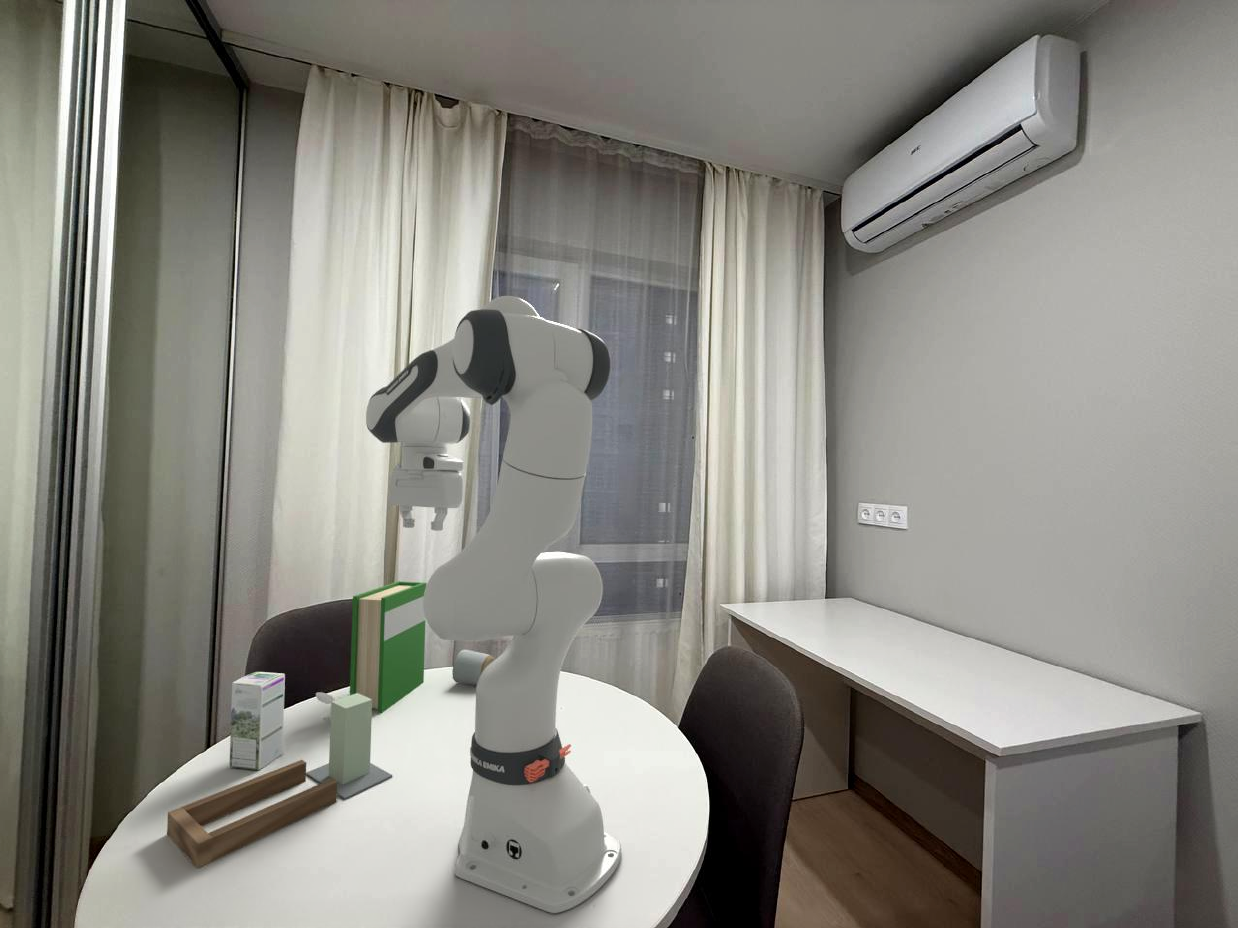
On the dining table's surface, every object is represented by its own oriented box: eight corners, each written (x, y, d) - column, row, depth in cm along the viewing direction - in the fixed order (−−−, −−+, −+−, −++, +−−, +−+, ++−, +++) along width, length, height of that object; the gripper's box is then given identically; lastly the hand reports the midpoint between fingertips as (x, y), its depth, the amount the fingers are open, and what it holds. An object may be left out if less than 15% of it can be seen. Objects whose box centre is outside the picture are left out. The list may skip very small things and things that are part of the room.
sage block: (369, 772, 90) (372, 699, 90) (343, 784, 86) (345, 708, 87) (355, 763, 93) (357, 692, 93) (328, 775, 89) (331, 701, 89)
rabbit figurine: (359, 716, 112) (327, 711, 106) (345, 730, 111) (312, 726, 105) (352, 693, 116) (320, 687, 109) (339, 707, 115) (306, 701, 109)
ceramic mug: (482, 691, 126) (483, 657, 127) (450, 687, 128) (452, 654, 129) (502, 676, 137) (503, 645, 137) (473, 672, 138) (474, 642, 139)
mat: (392, 776, 89) (392, 774, 89) (344, 799, 83) (344, 797, 83) (352, 754, 96) (352, 753, 96) (306, 774, 90) (306, 772, 90)
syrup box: (284, 754, 96) (287, 671, 96) (257, 771, 90) (261, 683, 91) (255, 751, 97) (258, 669, 97) (227, 768, 91) (230, 681, 91)
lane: (336, 801, 82) (337, 781, 82) (197, 868, 68) (198, 843, 68) (301, 777, 89) (301, 759, 89) (166, 834, 74) (167, 812, 74)
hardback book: (381, 713, 113) (385, 598, 114) (349, 710, 114) (353, 596, 115) (423, 682, 131) (426, 582, 132) (395, 680, 132) (398, 581, 133)
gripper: (381, 461, 115) (379, 526, 115) (442, 460, 104) (440, 533, 103) (407, 462, 121) (405, 525, 120) (468, 462, 109) (466, 531, 108)
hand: (422, 528), depth 112 cm, fingers open, 8 cm apart
